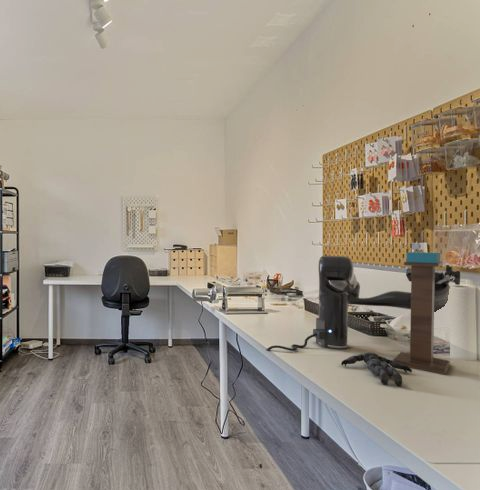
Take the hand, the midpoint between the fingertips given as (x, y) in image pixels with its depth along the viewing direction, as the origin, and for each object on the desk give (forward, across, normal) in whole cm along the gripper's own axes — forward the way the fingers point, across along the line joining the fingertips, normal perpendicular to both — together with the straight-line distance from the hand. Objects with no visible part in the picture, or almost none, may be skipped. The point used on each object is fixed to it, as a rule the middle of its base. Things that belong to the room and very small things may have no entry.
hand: (430, 266), depth 124 cm
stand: (-1, 0, -34) cm, 34 cm away
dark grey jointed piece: (+16, +7, -44) cm, 47 cm away
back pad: (+11, 0, -4) cm, 11 cm away
